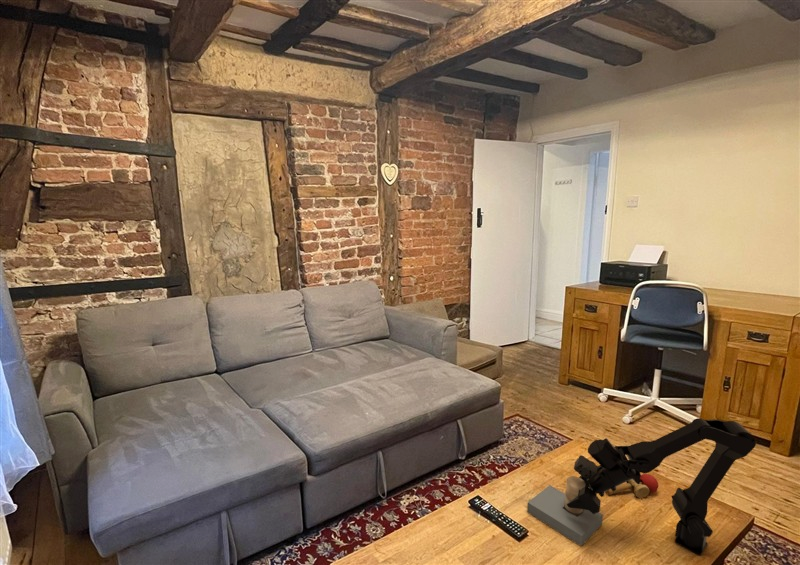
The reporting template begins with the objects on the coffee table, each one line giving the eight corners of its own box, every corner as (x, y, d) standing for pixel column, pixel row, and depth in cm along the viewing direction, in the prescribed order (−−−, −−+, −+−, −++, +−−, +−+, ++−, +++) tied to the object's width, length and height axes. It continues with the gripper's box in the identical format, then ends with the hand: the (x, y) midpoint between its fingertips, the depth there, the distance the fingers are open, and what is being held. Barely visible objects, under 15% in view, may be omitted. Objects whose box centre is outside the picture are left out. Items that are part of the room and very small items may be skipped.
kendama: (615, 507, 138) (665, 496, 140) (612, 488, 138) (662, 477, 140) (601, 495, 146) (650, 484, 148) (599, 477, 146) (647, 467, 147)
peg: (585, 517, 131) (588, 482, 129) (576, 526, 128) (580, 490, 125) (569, 508, 135) (571, 473, 133) (560, 516, 132) (562, 481, 129)
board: (601, 524, 129) (602, 514, 128) (581, 546, 121) (582, 535, 120) (549, 494, 143) (549, 485, 142) (527, 511, 134) (527, 502, 134)
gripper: (594, 437, 133) (556, 459, 140) (590, 470, 117) (546, 492, 124) (620, 467, 131) (579, 487, 138) (619, 504, 115) (573, 525, 122)
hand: (569, 496), depth 131 cm, fingers open, 9 cm apart
